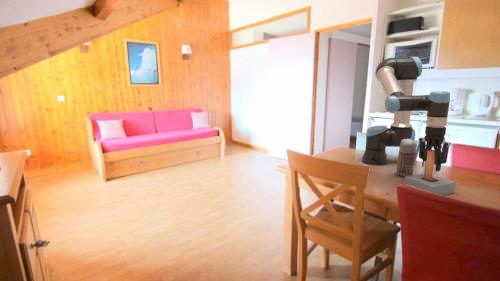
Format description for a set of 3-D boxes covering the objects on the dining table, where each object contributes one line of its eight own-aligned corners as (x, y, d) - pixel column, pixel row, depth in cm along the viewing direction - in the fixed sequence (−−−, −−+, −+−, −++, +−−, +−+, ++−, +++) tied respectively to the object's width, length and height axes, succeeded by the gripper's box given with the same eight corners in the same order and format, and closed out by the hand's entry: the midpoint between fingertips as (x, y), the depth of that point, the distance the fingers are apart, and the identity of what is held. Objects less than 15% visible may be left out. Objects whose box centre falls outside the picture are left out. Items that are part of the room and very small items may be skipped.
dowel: (421, 182, 122) (425, 150, 119) (428, 181, 123) (431, 149, 120) (430, 185, 118) (434, 152, 115) (436, 184, 120) (440, 151, 116)
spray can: (413, 174, 143) (417, 138, 139) (413, 178, 136) (417, 141, 132) (396, 171, 147) (399, 137, 143) (395, 176, 140) (398, 140, 136)
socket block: (404, 186, 126) (405, 176, 125) (425, 182, 130) (426, 173, 129) (431, 197, 113) (433, 186, 112) (454, 192, 117) (455, 182, 116)
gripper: (412, 124, 122) (407, 171, 127) (449, 129, 106) (442, 182, 111) (424, 123, 124) (419, 169, 129) (462, 128, 109) (454, 180, 113)
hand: (430, 175), depth 120 cm, fingers closed on dowel, 4 cm apart
